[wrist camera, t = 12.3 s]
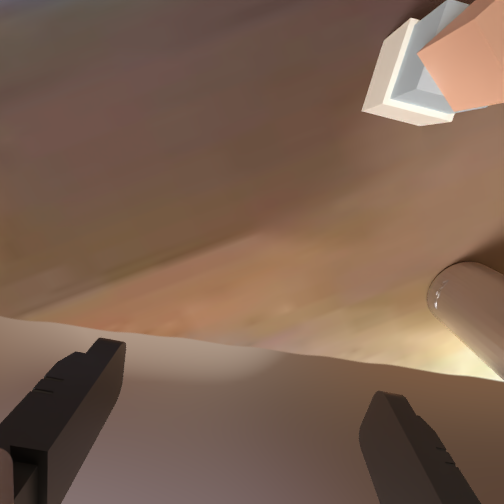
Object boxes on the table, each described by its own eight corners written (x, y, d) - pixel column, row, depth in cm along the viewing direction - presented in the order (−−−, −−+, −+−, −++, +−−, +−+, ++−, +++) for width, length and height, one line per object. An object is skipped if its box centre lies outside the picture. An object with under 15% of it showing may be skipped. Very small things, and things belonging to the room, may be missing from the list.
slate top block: (477, 42, 27) (524, 20, 23) (449, 114, 29) (487, 107, 24) (414, 25, 27) (448, -2, 22) (389, 98, 29) (416, 88, 24)
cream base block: (445, 57, 33) (485, 38, 27) (419, 126, 35) (451, 121, 29) (383, 40, 32) (410, 17, 27) (361, 111, 35) (382, 103, 29)
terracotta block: (517, 58, 23) (611, 26, 17) (454, 111, 25) (520, 99, 18) (481, -6, 22) (569, -66, 16) (416, 53, 23) (474, 18, 17)
